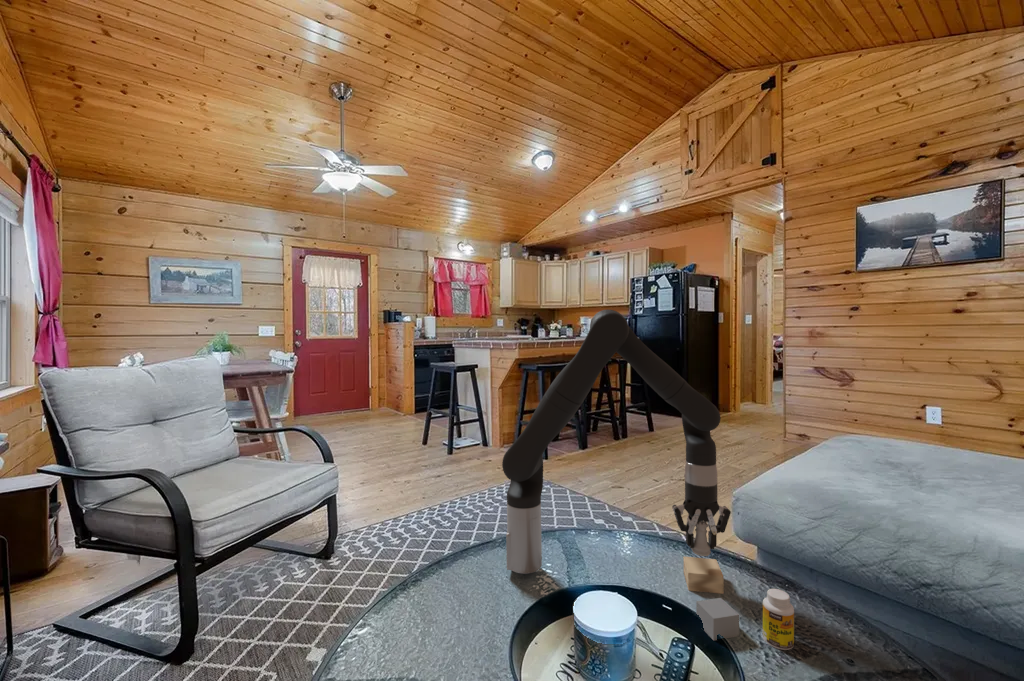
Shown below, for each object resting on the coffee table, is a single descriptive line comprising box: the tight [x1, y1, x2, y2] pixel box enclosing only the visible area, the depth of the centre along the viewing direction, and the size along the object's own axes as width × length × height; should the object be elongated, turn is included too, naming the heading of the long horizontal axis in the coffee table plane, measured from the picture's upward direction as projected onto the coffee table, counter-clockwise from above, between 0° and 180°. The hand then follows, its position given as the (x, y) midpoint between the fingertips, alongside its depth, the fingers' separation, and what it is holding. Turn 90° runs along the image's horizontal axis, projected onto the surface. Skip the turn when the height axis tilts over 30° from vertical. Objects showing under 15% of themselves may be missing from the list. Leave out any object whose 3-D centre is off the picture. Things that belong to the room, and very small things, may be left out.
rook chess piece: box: [691, 521, 712, 557], centre depth 112 cm, size 4×4×8 cm
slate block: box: [695, 597, 740, 641], centre depth 96 cm, size 6×6×5 cm
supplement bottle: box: [762, 588, 795, 651], centre depth 92 cm, size 6×6×10 cm
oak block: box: [683, 555, 725, 595], centre depth 113 cm, size 8×8×5 cm
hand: (701, 546), depth 112 cm, fingers closed on rook chess piece, 4 cm apart
